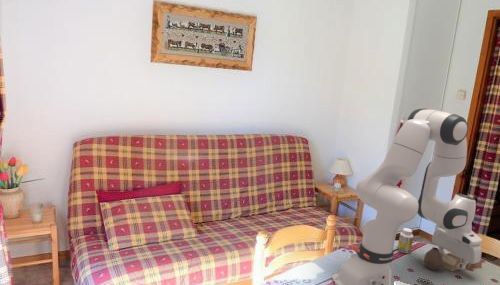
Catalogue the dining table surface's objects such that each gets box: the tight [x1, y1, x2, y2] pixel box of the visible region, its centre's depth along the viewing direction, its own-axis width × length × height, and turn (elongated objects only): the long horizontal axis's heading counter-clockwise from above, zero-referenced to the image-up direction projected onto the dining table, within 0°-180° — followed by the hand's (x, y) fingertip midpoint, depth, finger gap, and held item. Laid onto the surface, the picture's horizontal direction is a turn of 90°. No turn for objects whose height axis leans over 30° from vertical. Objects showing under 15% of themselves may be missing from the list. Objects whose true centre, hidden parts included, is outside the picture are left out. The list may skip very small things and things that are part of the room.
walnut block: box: [460, 257, 484, 270], centre depth 162 cm, size 8×8×4 cm
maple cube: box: [442, 252, 462, 272], centre depth 158 cm, size 5×5×5 cm
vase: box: [423, 246, 443, 271], centre depth 155 cm, size 7×7×9 cm
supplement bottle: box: [397, 227, 414, 254], centre depth 169 cm, size 6×6×10 cm
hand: (451, 262), depth 158 cm, fingers open, 8 cm apart
